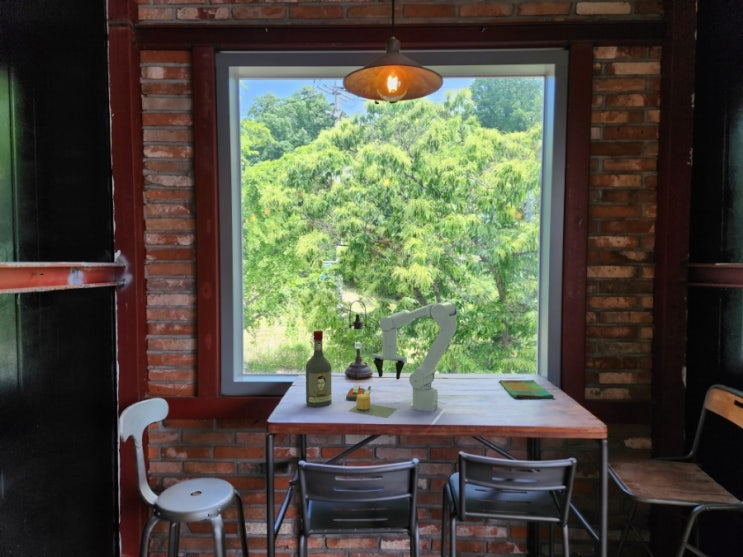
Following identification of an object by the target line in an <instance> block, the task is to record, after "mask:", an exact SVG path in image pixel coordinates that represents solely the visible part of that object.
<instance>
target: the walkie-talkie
mask: <svg viewBox="0 0 743 557" xmlns="http://www.w3.org/2000/svg"><path fill="white" fill-rule="evenodd" d="M371 388H372V386H370V385H369V386H368V388H367V389H365V388H361V386H360V385H356V386H354V387H353V388H350V389H349V391H348V393H347V394H346V399H345V400H346V401H350V402H351V401H352V402H353V401H356V402H357V395H358V394H369V395H370V393H371Z"/></svg>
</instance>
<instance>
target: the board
mask: <svg viewBox="0 0 743 557" xmlns="http://www.w3.org/2000/svg"><path fill="white" fill-rule="evenodd" d="M397 409H398V408H394V407H388V406H381V405H375V404H371V403H370V408H369V409H365V410H362V409H358V408H357V404H356V405H355V406H353V407H352V408H351V409H349V410H348V412H351V413H357V414H362V415H368V416H373V417H378V418H386V419H388V418H389V417H390V416H391V415H393V413H395V411H397Z"/></svg>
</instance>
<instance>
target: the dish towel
mask: <svg viewBox="0 0 743 557" xmlns="http://www.w3.org/2000/svg"><path fill="white" fill-rule="evenodd" d="M499 383H500V384H501V385H502V386H503V387H504V388H503V387H502V386H501V385H500V384H499ZM498 384H499V385H500V386H501V387H502V388H503V389H504V390H505V391H506V392H507V394H509V395H510V396H511V397H512V398H513V399H514V398H515V400H540V399H553V400H555V395H553V393H550V392H549V391H548V390H547V389H545V388H544V387H543V386H542V385H541V384H538V383H537V381H535V379H520V380H518V379H517V380H514V379H513V380H512V379H509V380H508V379H506V380H501V379H500V380H498Z"/></svg>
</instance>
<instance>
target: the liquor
mask: <svg viewBox="0 0 743 557" xmlns="http://www.w3.org/2000/svg"><path fill="white" fill-rule="evenodd" d="M323 334H324V333H323V330H314V331H313V341H314V342H313V354H312V356H311V357H310V359H309V360H308V361H307V362H306V364H305V402H306V405H307V406H308V407H309V408H315V409H316V408H323V407H329V406H330V405H332V404H333V403H332V365H331V362H329V361H328V359H327V358H326V357H325V355H324V350H323V340H324V335H323Z"/></svg>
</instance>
